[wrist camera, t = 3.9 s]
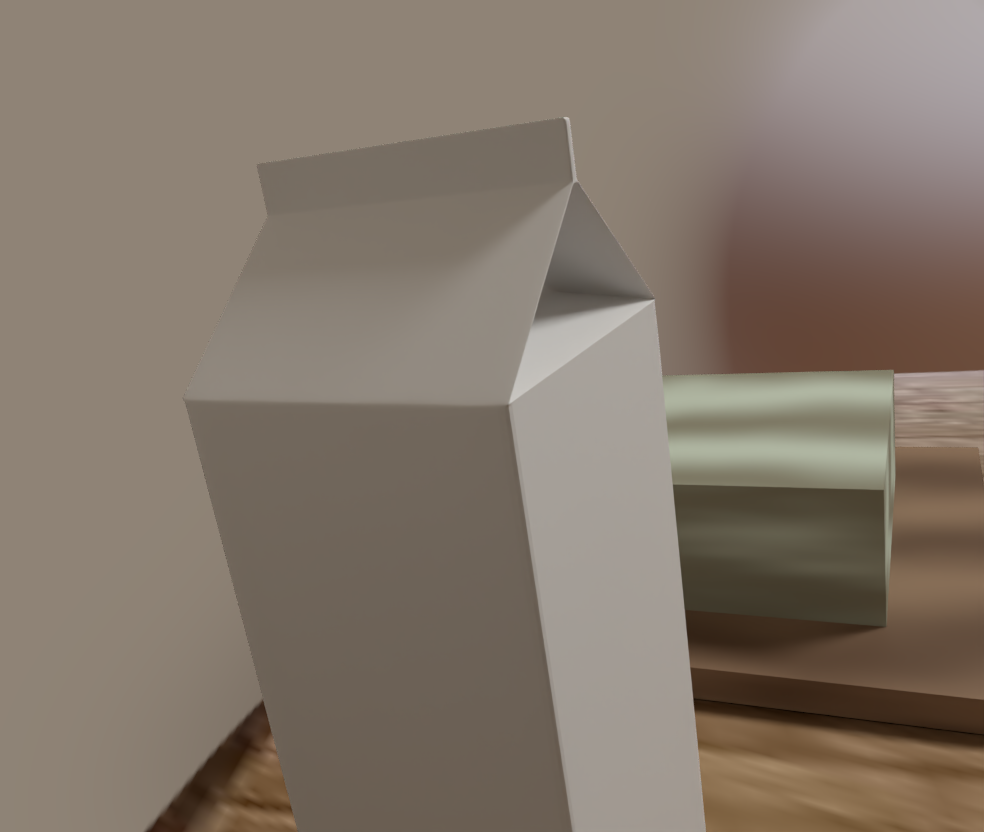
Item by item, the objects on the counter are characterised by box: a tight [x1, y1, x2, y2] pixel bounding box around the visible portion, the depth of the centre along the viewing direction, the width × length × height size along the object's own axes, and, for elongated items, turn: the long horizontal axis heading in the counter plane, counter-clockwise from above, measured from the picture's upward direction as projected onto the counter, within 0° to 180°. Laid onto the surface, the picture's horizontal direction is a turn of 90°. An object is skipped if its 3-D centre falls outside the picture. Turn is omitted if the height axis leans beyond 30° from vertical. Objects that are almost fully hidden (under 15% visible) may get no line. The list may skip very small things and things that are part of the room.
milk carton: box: [183, 117, 706, 832], centre depth 20 cm, size 7×7×19 cm
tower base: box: [662, 370, 984, 734], centre depth 38 cm, size 20×20×6 cm
